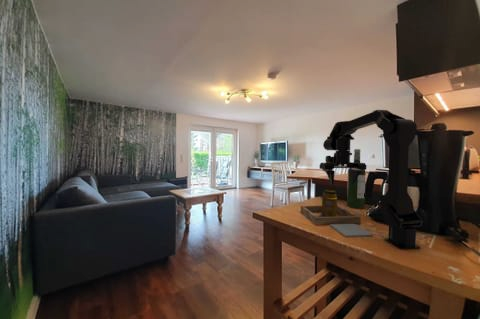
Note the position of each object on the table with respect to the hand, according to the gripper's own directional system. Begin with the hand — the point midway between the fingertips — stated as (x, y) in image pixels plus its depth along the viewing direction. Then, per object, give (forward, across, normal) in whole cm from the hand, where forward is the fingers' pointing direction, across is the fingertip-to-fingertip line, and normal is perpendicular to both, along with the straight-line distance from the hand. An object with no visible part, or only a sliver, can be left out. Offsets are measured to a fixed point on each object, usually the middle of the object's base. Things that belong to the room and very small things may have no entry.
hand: (342, 185), depth 89 cm
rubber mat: (+14, +6, +16) cm, 22 cm away
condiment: (+14, +7, +2) cm, 16 cm away
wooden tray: (+14, +7, +2) cm, 16 cm away
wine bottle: (+14, -15, -13) cm, 25 cm away
